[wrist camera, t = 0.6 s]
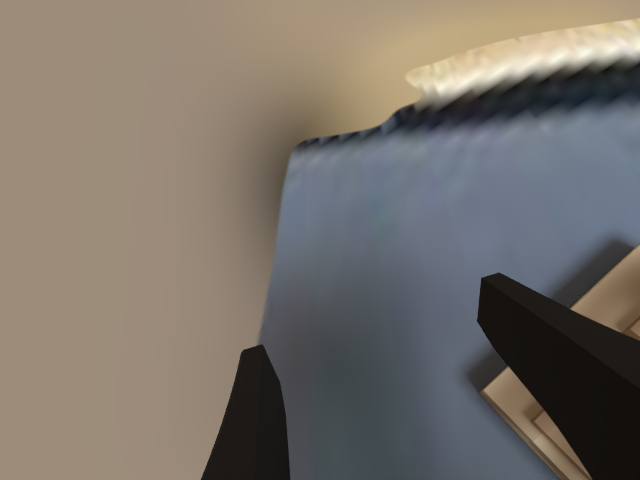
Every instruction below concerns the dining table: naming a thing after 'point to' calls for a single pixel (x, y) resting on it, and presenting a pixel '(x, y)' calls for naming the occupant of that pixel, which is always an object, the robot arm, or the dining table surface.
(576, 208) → the dining table surface
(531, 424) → the socket board
